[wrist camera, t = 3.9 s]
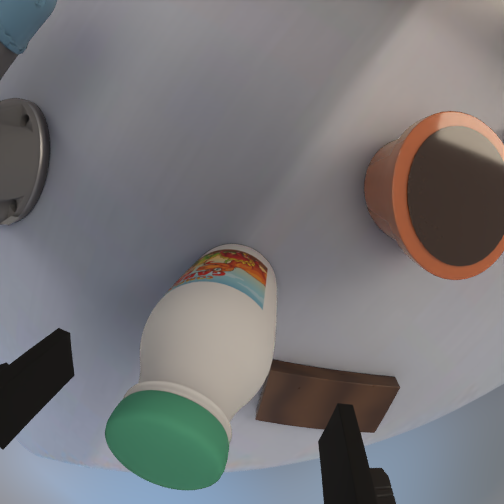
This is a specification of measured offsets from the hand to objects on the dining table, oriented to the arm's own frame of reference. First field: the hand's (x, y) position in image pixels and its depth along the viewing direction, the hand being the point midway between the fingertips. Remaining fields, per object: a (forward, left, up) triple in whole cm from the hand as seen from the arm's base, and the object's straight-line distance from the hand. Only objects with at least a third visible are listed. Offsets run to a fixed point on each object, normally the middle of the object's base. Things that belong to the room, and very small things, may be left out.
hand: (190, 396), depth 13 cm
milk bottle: (0, 0, -16) cm, 16 cm away
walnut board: (+12, -10, -16) cm, 22 cm away
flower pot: (+14, +12, -16) cm, 24 cm away
